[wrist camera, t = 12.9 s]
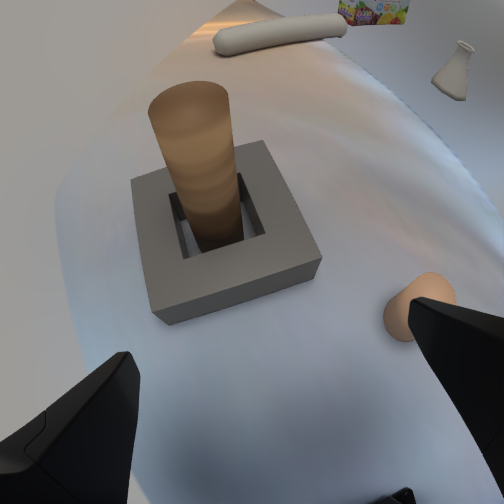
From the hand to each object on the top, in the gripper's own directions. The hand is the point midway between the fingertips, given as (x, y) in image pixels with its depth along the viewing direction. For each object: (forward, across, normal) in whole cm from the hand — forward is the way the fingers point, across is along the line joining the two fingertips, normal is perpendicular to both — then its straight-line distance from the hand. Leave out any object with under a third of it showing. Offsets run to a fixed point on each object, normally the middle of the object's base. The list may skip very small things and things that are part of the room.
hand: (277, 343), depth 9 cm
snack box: (+55, -39, -36) cm, 77 cm away
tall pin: (+18, +2, +2) cm, 18 cm away
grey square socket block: (+18, +2, +2) cm, 18 cm away
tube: (+44, -12, -25) cm, 52 cm away
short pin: (+11, -12, +9) cm, 18 cm away
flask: (+34, -39, -14) cm, 54 cm away
